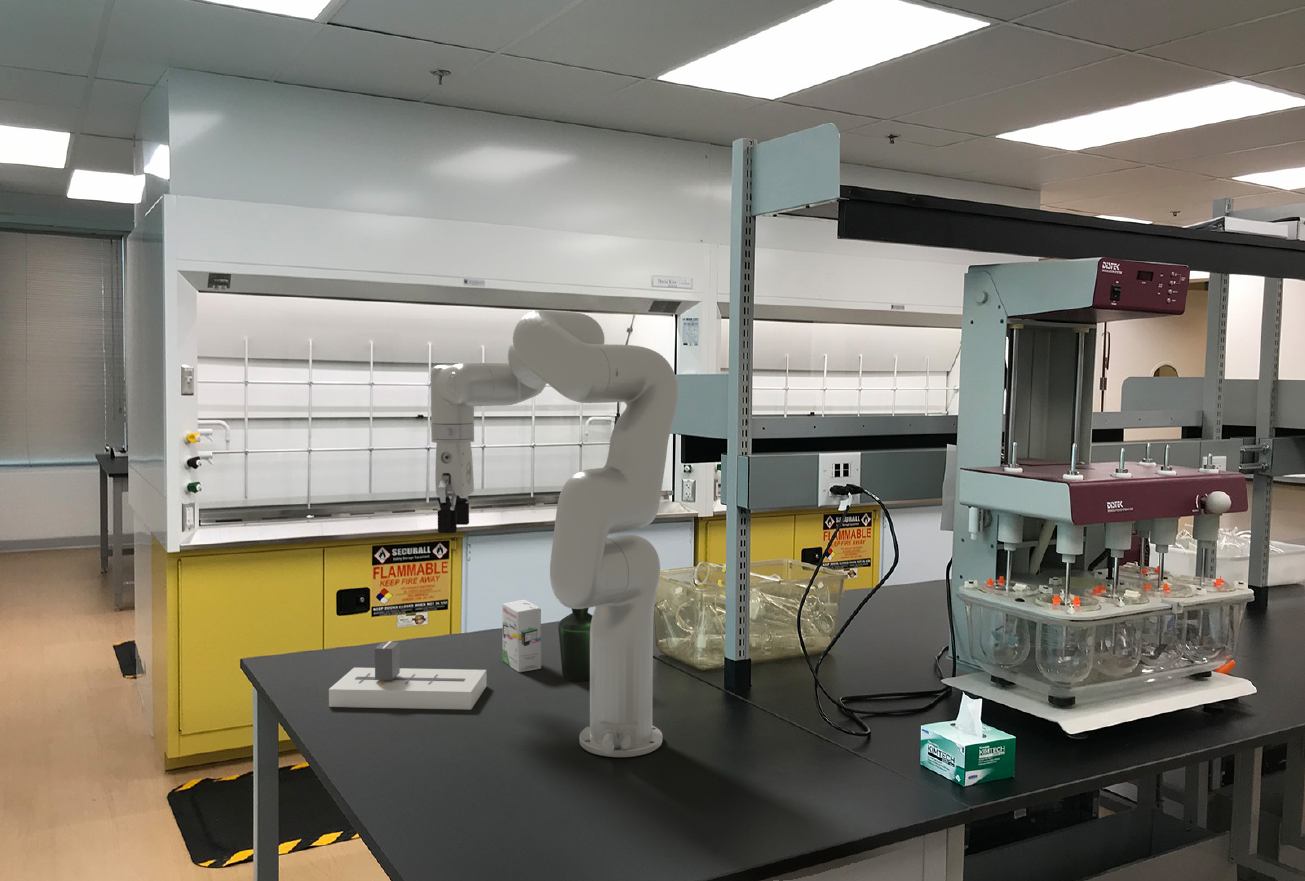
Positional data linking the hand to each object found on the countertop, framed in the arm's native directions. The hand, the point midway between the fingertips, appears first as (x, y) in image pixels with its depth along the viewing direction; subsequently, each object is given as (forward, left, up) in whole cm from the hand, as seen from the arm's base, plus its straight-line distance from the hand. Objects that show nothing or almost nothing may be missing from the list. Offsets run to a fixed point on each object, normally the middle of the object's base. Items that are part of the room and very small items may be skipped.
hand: (453, 528), depth 172 cm
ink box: (+10, -10, -28) cm, 32 cm away
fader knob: (-9, +10, -25) cm, 28 cm away
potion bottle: (+4, -22, -28) cm, 36 cm away
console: (-9, +6, -28) cm, 30 cm away
